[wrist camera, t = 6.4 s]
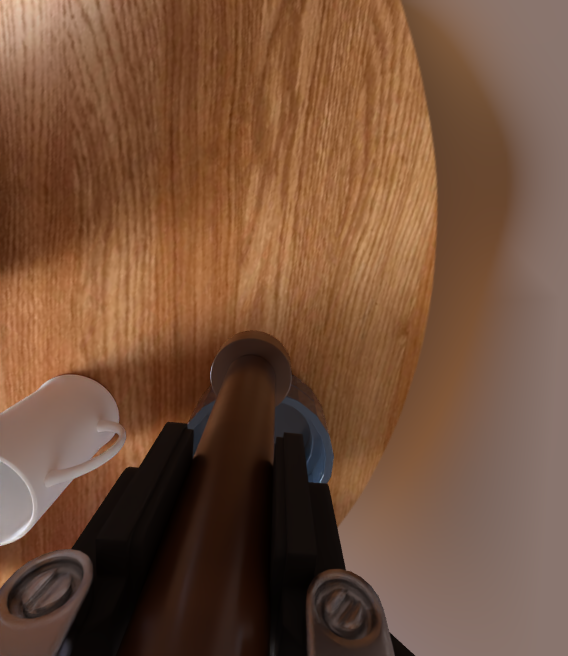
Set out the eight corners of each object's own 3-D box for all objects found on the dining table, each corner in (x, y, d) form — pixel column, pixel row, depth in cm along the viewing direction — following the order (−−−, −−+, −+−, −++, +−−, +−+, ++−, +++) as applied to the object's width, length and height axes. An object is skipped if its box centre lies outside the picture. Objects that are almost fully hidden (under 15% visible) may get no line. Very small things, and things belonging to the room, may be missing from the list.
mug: (147, 373, 34) (79, 443, 22) (155, 449, 36) (96, 549, 24) (27, 373, 34) (-106, 444, 22) (42, 449, 36) (-72, 551, 24)
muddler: (294, 334, 18) (350, 646, 4) (286, 404, 19) (308, 842, 5) (217, 326, 17) (7, 625, 4) (213, 397, 18) (34, 831, 5)
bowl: (331, 370, 34) (342, 397, 28) (316, 484, 37) (323, 529, 31) (196, 359, 33) (179, 384, 28) (193, 475, 37) (177, 520, 31)
